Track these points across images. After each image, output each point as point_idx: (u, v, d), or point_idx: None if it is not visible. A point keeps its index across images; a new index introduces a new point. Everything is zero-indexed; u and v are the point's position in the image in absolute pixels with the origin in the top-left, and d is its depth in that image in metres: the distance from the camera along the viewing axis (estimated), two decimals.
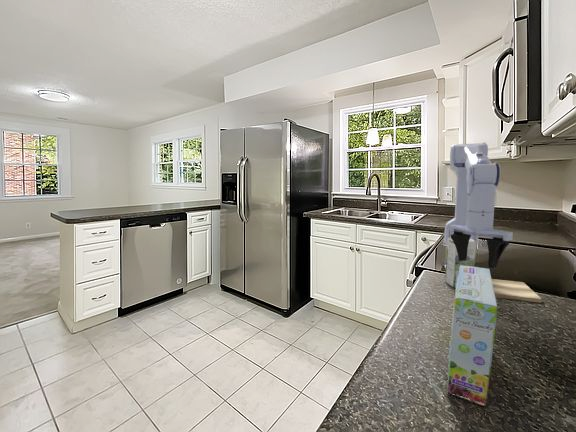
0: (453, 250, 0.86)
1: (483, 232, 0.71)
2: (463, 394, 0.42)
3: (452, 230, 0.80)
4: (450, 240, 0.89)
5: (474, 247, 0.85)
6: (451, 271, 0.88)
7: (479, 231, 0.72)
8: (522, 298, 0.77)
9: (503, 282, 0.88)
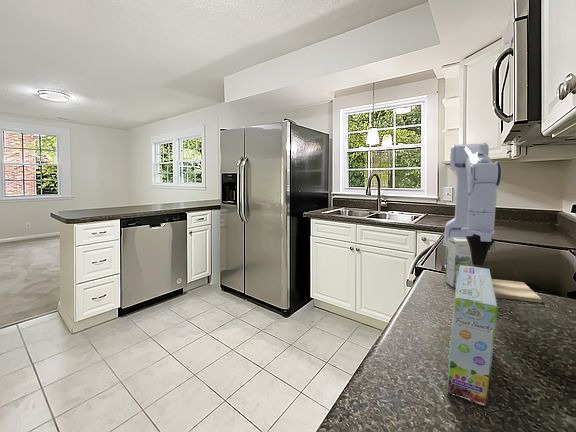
0: (453, 250, 0.86)
1: (471, 231, 0.72)
2: (463, 394, 0.42)
3: None
4: (450, 240, 0.89)
5: None
6: (451, 271, 0.88)
7: (469, 230, 0.73)
8: (522, 298, 0.77)
9: (503, 282, 0.88)
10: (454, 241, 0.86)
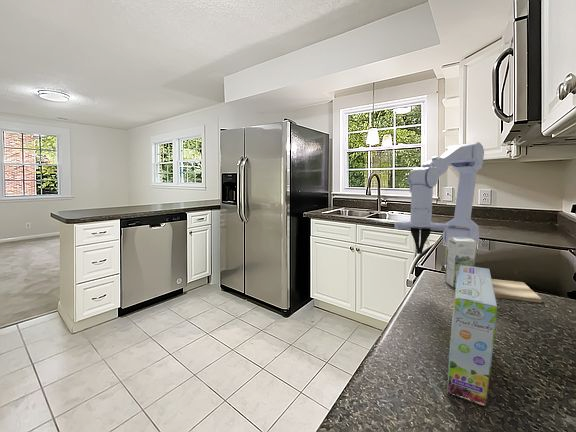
0: (453, 250, 0.86)
1: (430, 226, 0.84)
2: (463, 394, 0.42)
3: (397, 226, 0.89)
4: (450, 240, 0.89)
5: (474, 247, 0.85)
6: (451, 271, 0.88)
7: (427, 225, 0.84)
8: (522, 298, 0.77)
9: (503, 282, 0.88)
10: (454, 241, 0.86)
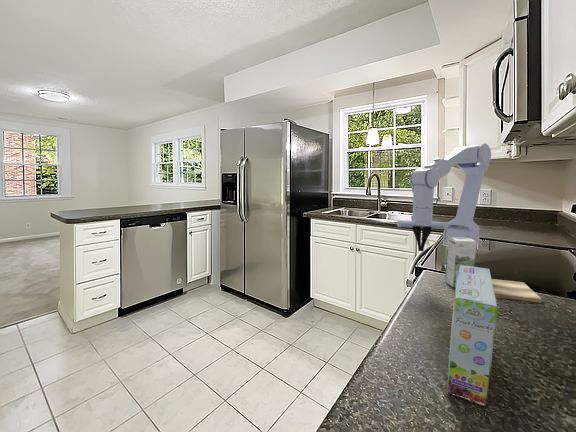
0: (453, 250, 0.86)
1: (431, 224, 0.88)
2: (463, 394, 0.42)
3: (399, 225, 0.93)
4: (450, 240, 0.89)
5: (474, 247, 0.85)
6: (451, 271, 0.88)
7: (428, 224, 0.88)
8: (522, 298, 0.77)
9: (503, 282, 0.88)
10: (454, 241, 0.86)
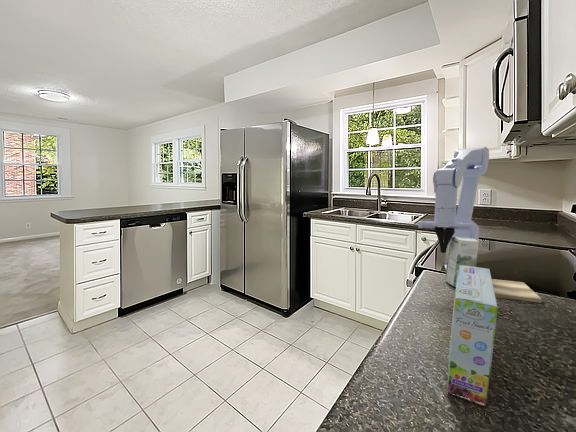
0: (455, 249, 0.86)
1: (454, 225, 0.86)
2: (463, 394, 0.42)
3: (421, 226, 0.91)
4: (453, 239, 0.88)
5: (477, 247, 0.85)
6: (452, 270, 0.88)
7: (452, 224, 0.86)
8: (522, 298, 0.77)
9: (503, 282, 0.88)
10: (457, 240, 0.86)
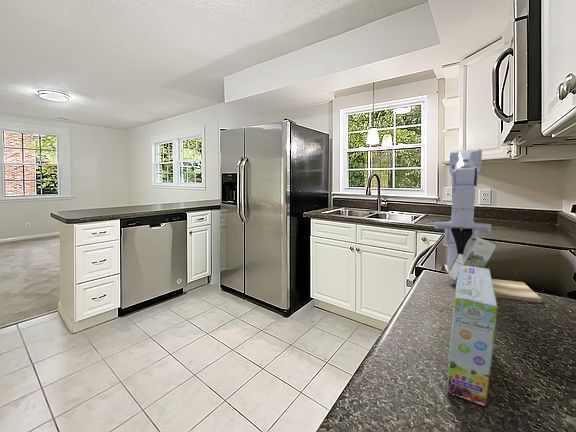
0: (471, 246, 0.86)
1: (473, 226, 0.84)
2: (463, 394, 0.42)
3: (437, 227, 0.89)
4: (470, 237, 0.88)
5: (492, 250, 0.84)
6: (459, 265, 0.87)
7: (470, 225, 0.84)
8: (522, 298, 0.77)
9: (503, 282, 0.88)
10: (475, 238, 0.85)
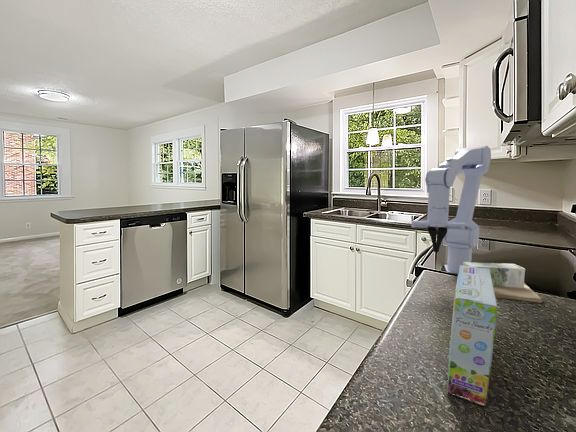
0: (511, 267, 0.85)
1: (447, 225, 0.86)
2: (463, 394, 0.42)
3: (414, 225, 0.91)
4: (516, 265, 0.86)
5: (517, 286, 0.84)
6: (485, 265, 0.86)
7: (444, 224, 0.87)
8: (522, 298, 0.77)
9: None
10: (522, 268, 0.84)
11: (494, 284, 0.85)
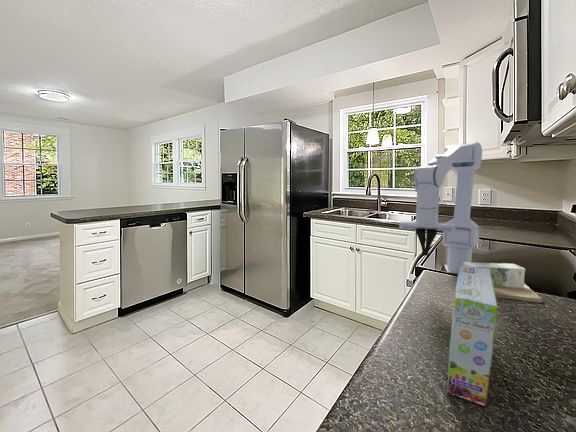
0: (511, 267, 0.85)
1: (436, 226, 0.80)
2: (463, 394, 0.42)
3: (401, 227, 0.85)
4: (516, 265, 0.86)
5: (517, 286, 0.84)
6: (485, 265, 0.86)
7: (433, 226, 0.80)
8: (522, 298, 0.77)
9: None
10: (522, 268, 0.84)
11: (494, 284, 0.85)
